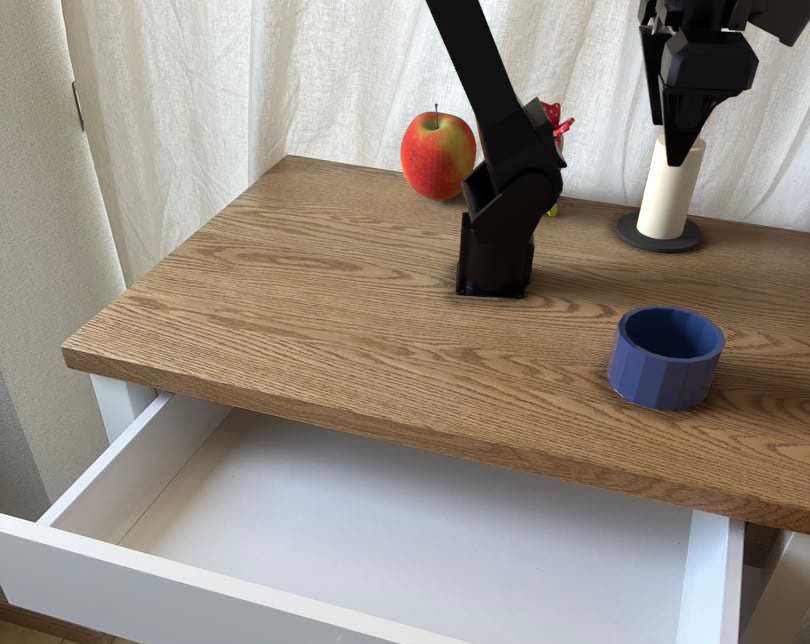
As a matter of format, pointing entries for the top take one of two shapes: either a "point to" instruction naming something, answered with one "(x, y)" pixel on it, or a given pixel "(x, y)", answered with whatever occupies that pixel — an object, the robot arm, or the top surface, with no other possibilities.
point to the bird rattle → (557, 132)
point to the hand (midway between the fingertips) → (665, 144)
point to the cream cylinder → (669, 192)
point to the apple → (437, 154)
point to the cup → (664, 357)
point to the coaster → (631, 235)
